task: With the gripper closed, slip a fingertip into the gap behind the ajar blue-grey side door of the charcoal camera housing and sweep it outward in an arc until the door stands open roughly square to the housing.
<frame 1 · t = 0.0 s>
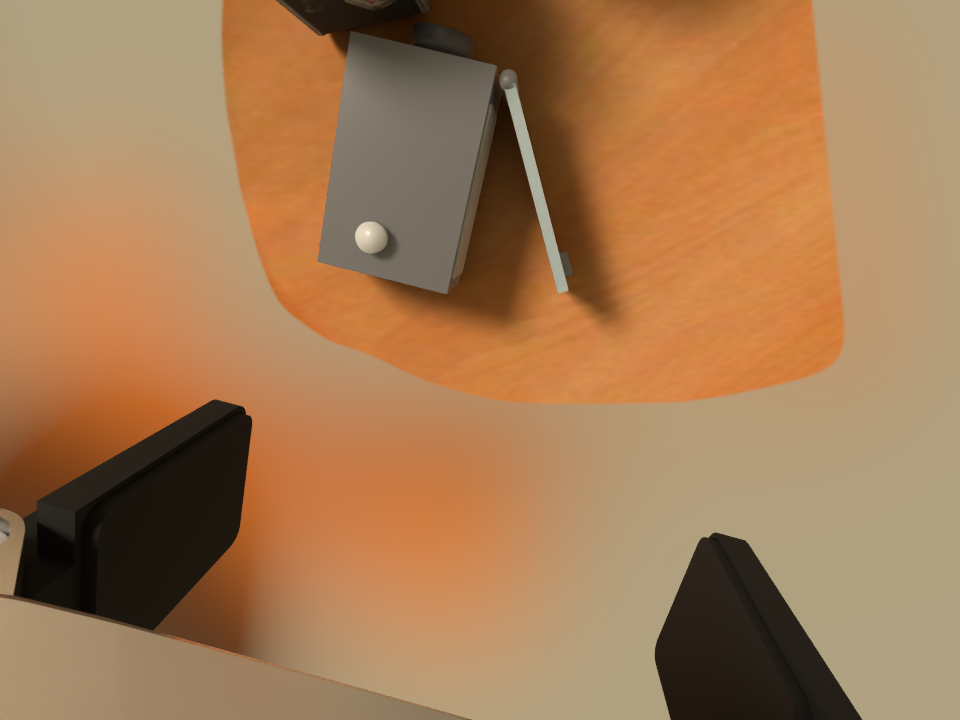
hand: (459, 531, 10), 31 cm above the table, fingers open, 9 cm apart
housing: (421, 176, 39), on the table
side door: (538, 187, 35), point 3 cm above the table, hinge at 30.0°
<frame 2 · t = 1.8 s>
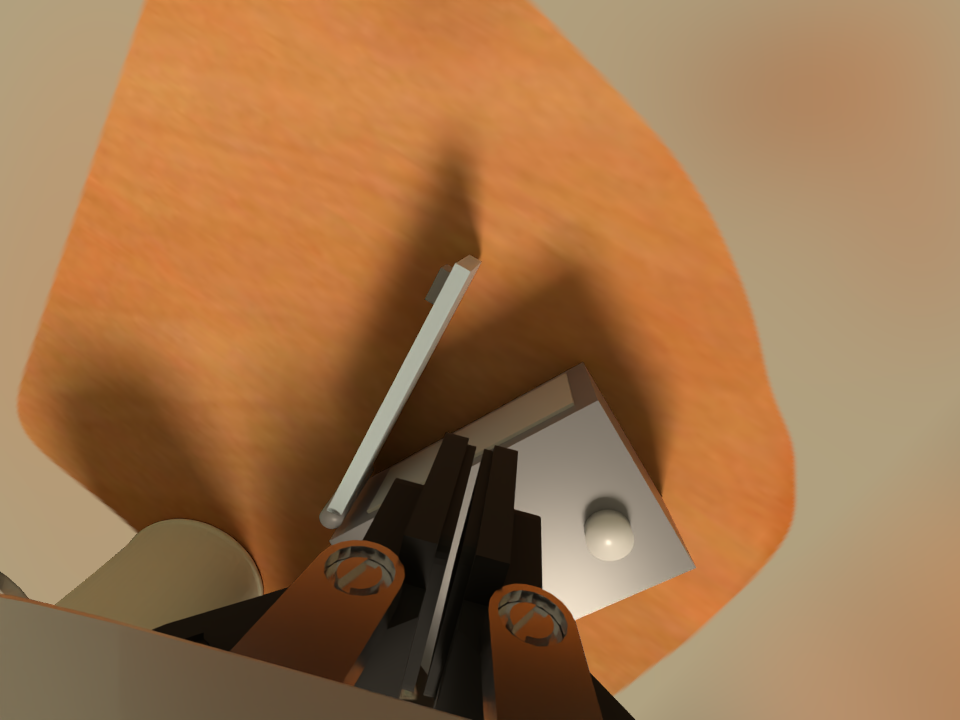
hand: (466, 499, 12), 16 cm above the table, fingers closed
housing: (511, 488, 29), on the table
camera: (386, 663, 34), on the table
side door: (399, 387, 25), point 3 cm above the table, hinge at 30.0°
can: (196, 580, 33), on the table
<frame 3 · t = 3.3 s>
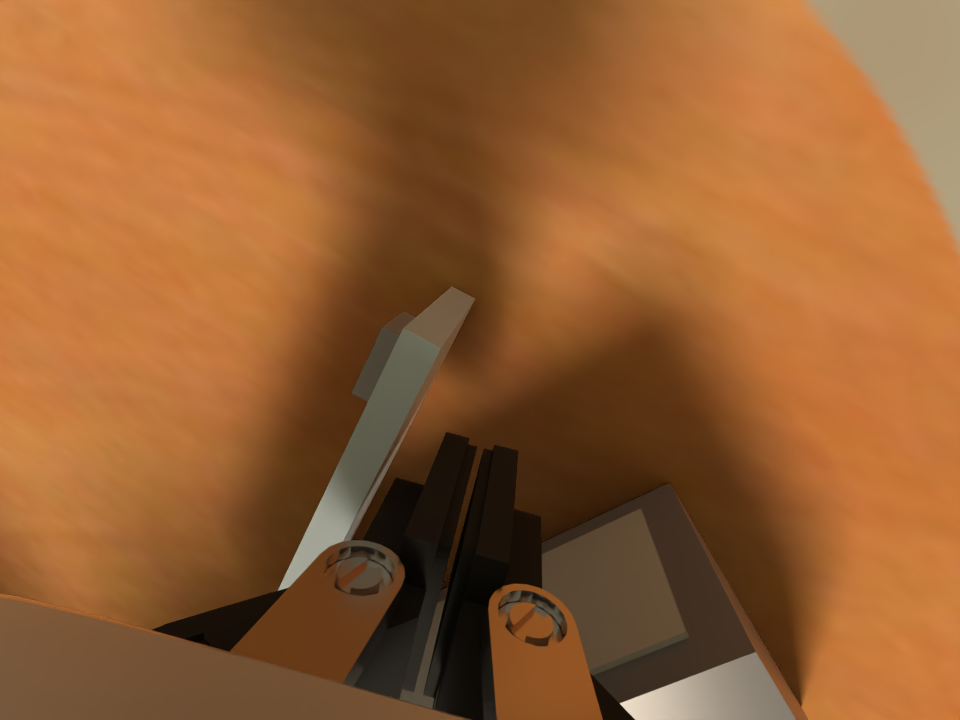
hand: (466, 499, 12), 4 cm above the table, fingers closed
housing: (536, 683, 17), on the table
side door: (319, 547, 13), point 3 cm above the table, hinge at 30.9°, touching gripper
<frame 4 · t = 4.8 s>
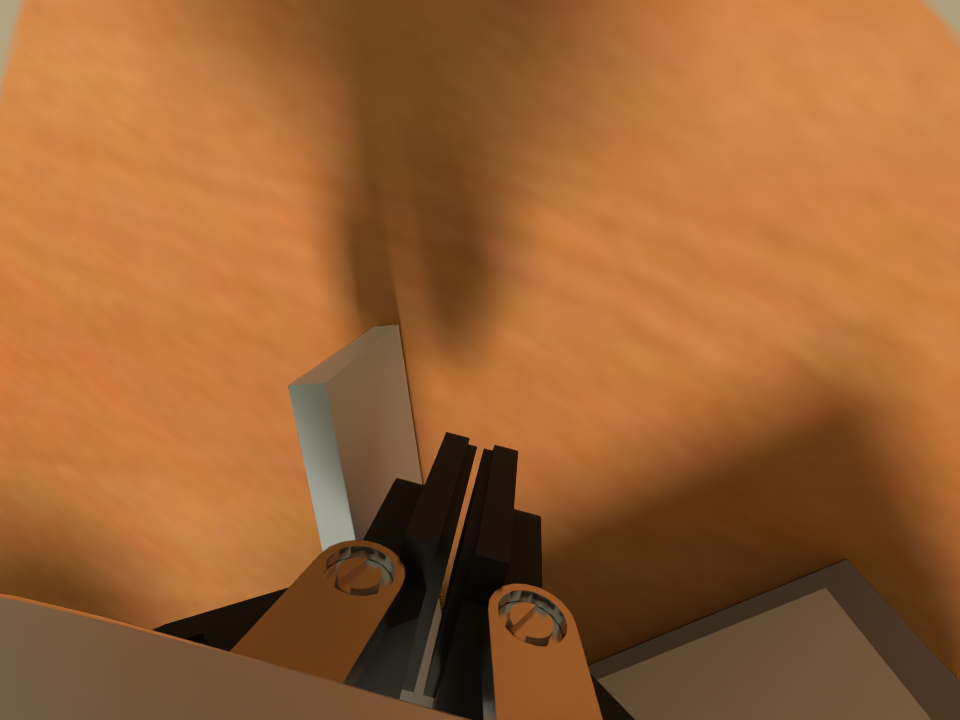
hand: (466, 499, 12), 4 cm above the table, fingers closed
side door: (391, 607, 14), point 3 cm above the table, hinge at 64.2°, touching gripper
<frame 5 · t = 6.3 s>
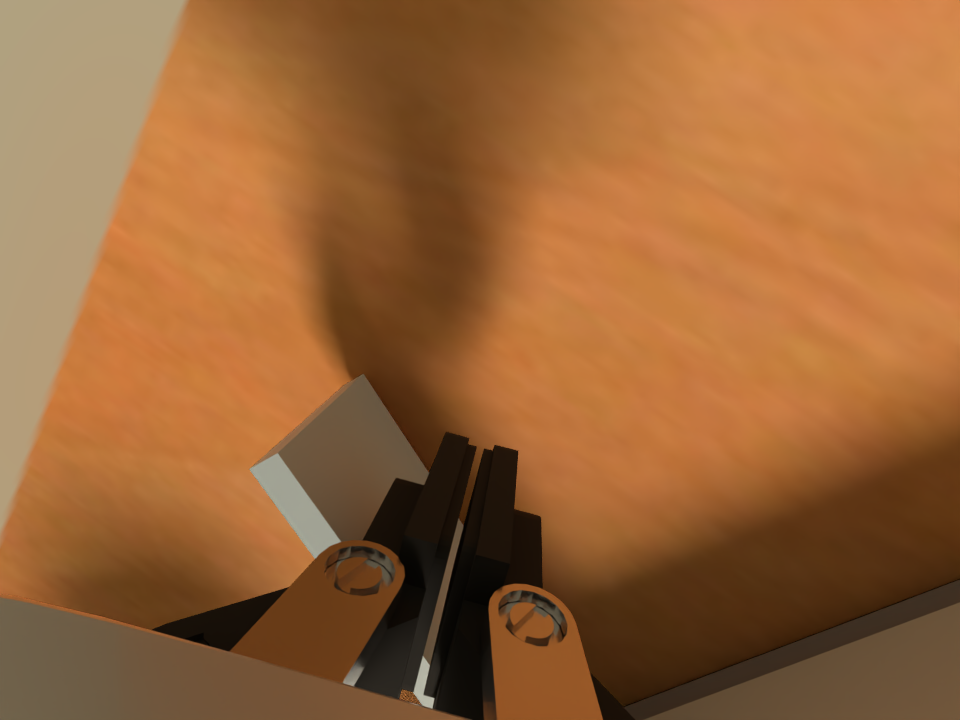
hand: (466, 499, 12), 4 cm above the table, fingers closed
side door: (460, 632, 14), point 3 cm above the table, hinge at 89.4°, touching gripper
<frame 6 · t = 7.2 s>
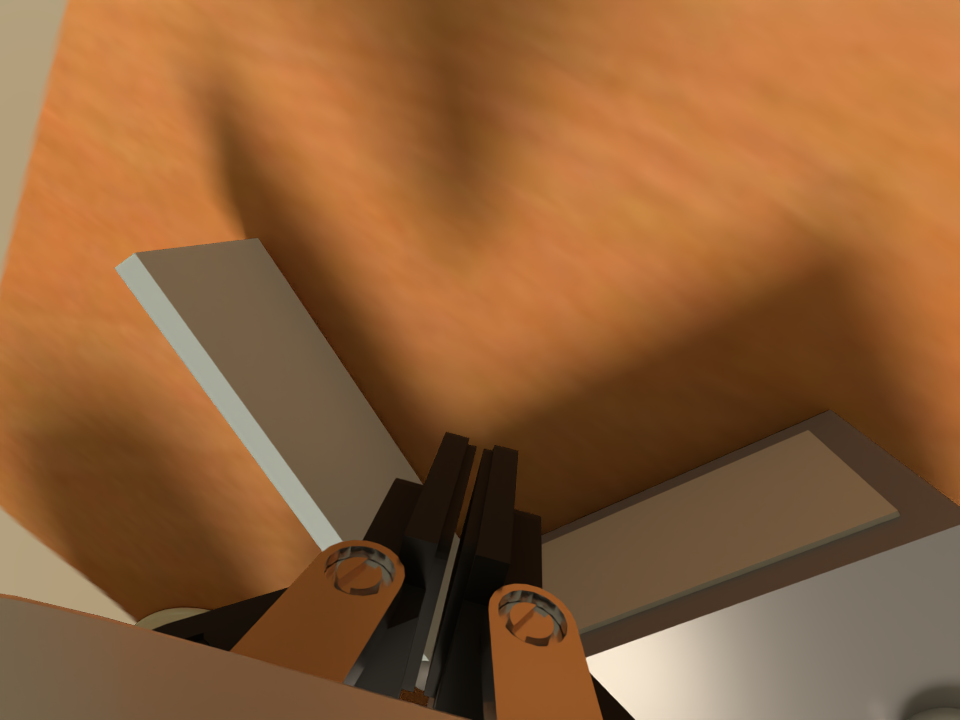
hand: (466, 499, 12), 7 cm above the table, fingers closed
housing: (685, 594, 19), on the table
side door: (331, 452, 16), point 3 cm above the table, hinge at 89.5°
can: (216, 684, 24), on the table
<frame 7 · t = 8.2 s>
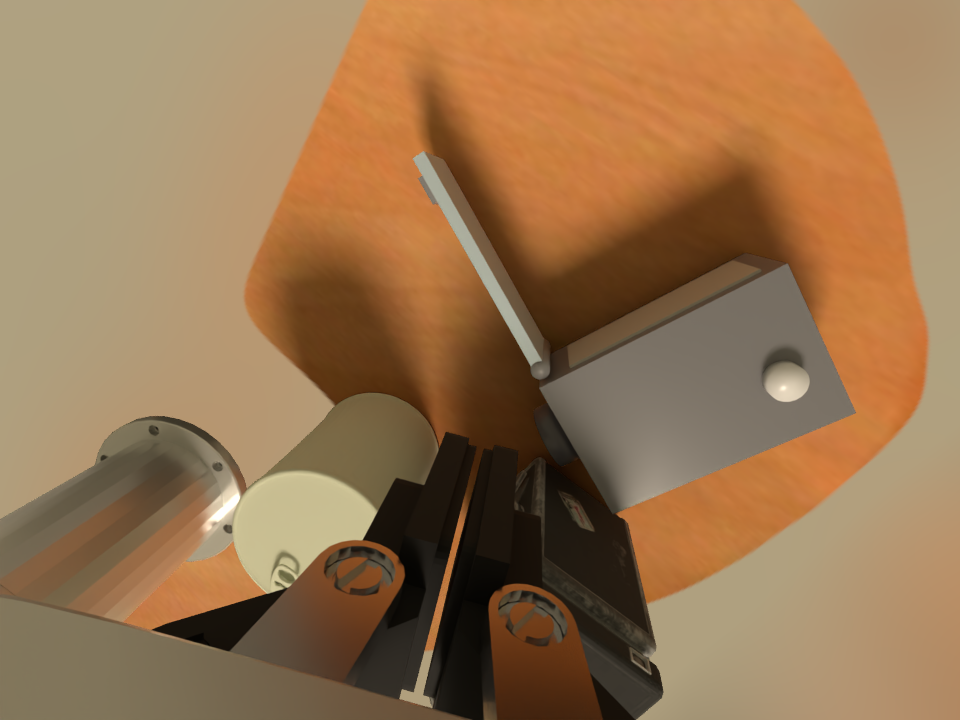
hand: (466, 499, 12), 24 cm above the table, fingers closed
housing: (669, 367, 34), on the table
camera: (539, 526, 39), on the table
side door: (487, 267, 31), point 3 cm above the table, hinge at 89.5°
can: (380, 448, 39), on the table
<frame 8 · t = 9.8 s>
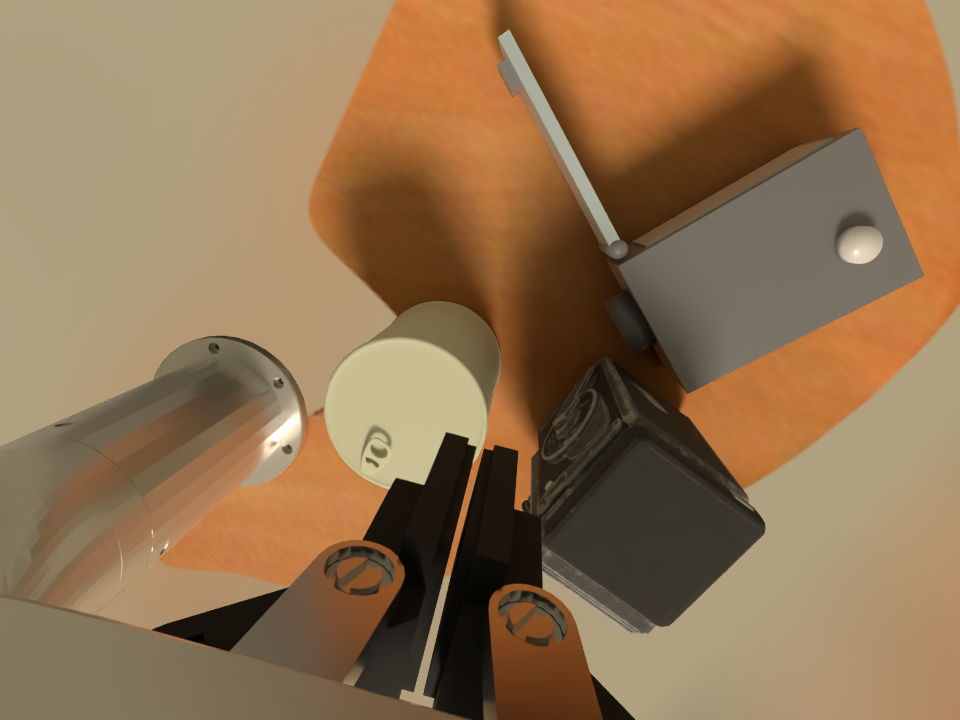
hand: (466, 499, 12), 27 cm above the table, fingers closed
housing: (729, 261, 35), on the table
camera: (599, 433, 40), on the table
side door: (560, 157, 32), point 3 cm above the table, hinge at 89.5°
can: (441, 360, 40), on the table
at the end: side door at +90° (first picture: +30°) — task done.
